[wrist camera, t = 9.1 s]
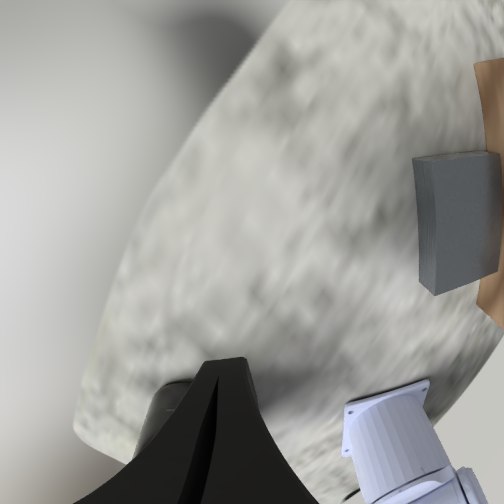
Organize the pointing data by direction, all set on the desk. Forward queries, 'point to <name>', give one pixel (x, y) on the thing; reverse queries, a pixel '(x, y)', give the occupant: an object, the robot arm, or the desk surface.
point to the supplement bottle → (160, 412)
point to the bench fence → (500, 141)
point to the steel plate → (458, 218)
